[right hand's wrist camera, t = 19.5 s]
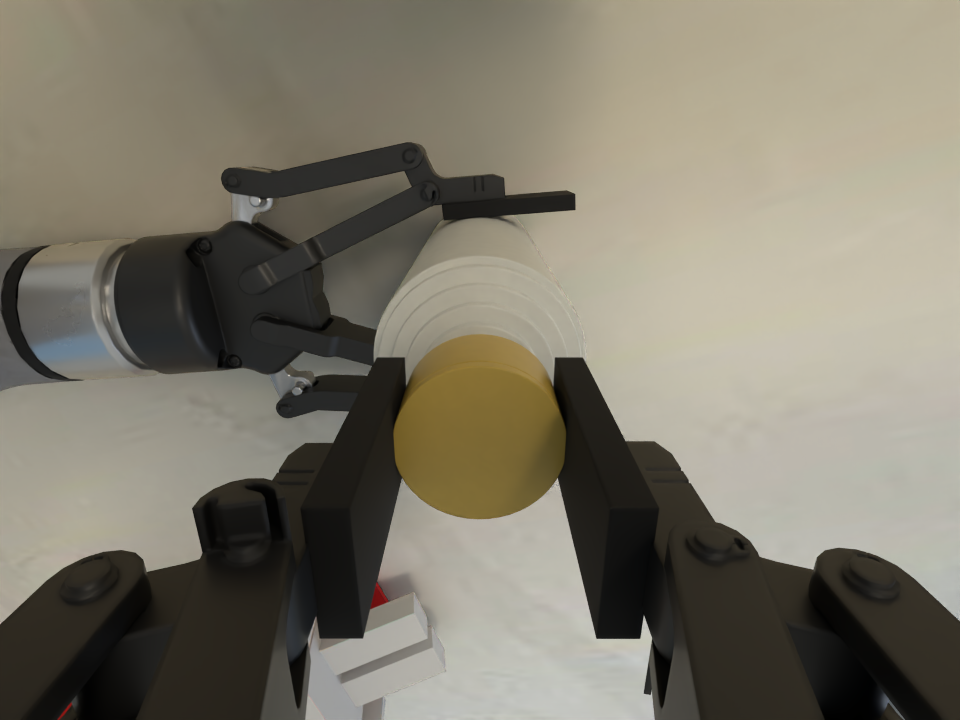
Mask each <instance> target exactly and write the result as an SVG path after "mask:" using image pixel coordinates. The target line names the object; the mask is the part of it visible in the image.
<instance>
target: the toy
mask: <svg viewBox="0 0 960 720" xmlns="http://www.w3.org/2000/svg"><path fill="white" fill-rule="evenodd" d="M308 644H309V650H310V657H311V667H310V677H309V687H308V697H307V707H306V717H305V720H384V711H385V698H384V696H386V695H389V694H391V693H393V692H396V691H398V690H401V689H403V688H406V687H408V686H411V685H413V684H416V683H418V682H421V681H423V680H426V679H428V678H431V677H433V676H436V675H438V674H440V673H443V672H445V671H446V666H445V653H444V647H443V646H442V644H441V642H440V640H439V638H438V636H437V634H436V632H435V631H434V629H433V627H432V625H431V626H429V627H427V616H426V614H425V612H424V610H423V608H422V606H421V605H420V603H419V601H418V599H417V597H416V595H415V593H414V592H412V593H410V594H407V595H405V596H402V597H400V598H397V599H395V600H392V601H390V602H388V600H387V598H386V596H385V595H384V593H383V591H382V590H381V588H380V586H379V585H378V583H376V587H375V591H374V595H373V600H372V604H371V608H370V612H369V616H368V620H367V625H366V629H365V633H364V637H363V639H319V632H318V625H317V619H316V618H315V621H314V623H313V626H312V629H311V632H310V635H309V637H308ZM71 705H72V703H70V704H69V706H68V707H67V708H66V709H65V711H64V712H63V713H62V714H61V716H60V717H59V718H58V720H59V719H60V718H61V717H62V716H63V715H64V714H65V713H66V712H67V710H68V709H69V708H70V706H71Z"/></svg>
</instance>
